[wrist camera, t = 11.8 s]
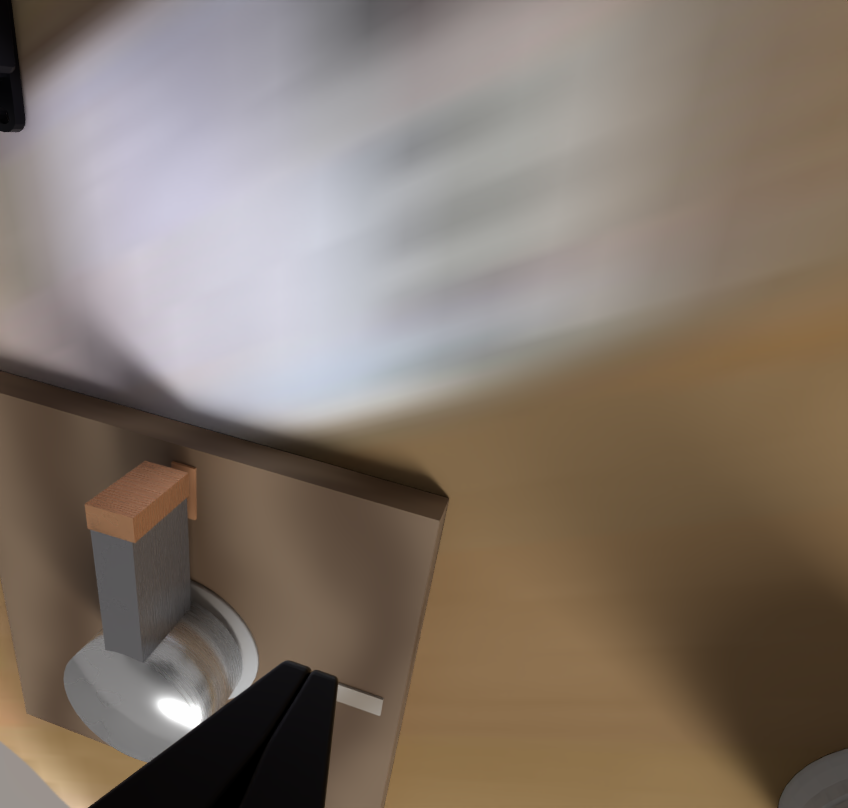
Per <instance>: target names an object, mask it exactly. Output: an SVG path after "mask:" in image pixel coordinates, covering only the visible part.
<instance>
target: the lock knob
mask: <svg viewBox="0 0 848 808" xmlns="http://www.w3.org/2000/svg"><path fill="white" fill-rule="evenodd" d="M188 496H189V476H188V473H187V472H184V471H180V470H177V469H173V468H169V467H166V466H162V465H159V464H155V463H152V462H148V461H144V462H143V463H141V464H140V465H138V466H137V467H136V468H134V469H133V470H131V471H130V472H129V473H127V474H126V475H124V476H123V477H122V478H120V479H119V480H117V481H116V482H115V483H113V484H112V485H110V486H109V487H108V488H106V489H105V490H104V491H102V492H101V493H99V494H98V495H97V496H95V497H94V498H92V499H91V500H90V501H88V502H87V503H85V511H86V519H87V527H88V529H90V531H91V539H92V547H93V555H94V563H95V571H96V579H97V587H98V595H99V603H100V611H101V619H102V627H103V628H102V629H101V630H100V631H99V632H98V633H97V634H96V635H95V636H94V637H93V638H92V639H91V640H90V641H89V642H88V643H87V644H86V645H85V646H84V647H83V648H82V649H81V650H80V651H79V652H78V653H77V654H76V655H75V656H74V657H73V658H72V659H71V660H70V661H69V662H68V664H67V666H66V668H65V671H64V687H65V691H66V694H67V697H68V699H69V701H70V703H71V705H72V707H73V709H74V710H75V712H76V713H77V715H78V716H79V717H80V719H81V720H82V721H83V722H84V723H85V724H86V726H87V727H88V728H89V729H90V730H91V731H92V732H94V733H95V734H96V735H97V736H98V737H99V738H101V739H102V740H103V741H104V742H106V743H107V744H109V745H110V746H112V747H113V748H115V749H117V750H118V751H120V752H122V753H124V754H126V755H128V756H130V757H133V758H135V759H138V760H141V761H145V762H150V761H151V760H152V759H154V758H155V757H156V756H158V755H159V754H160V753H162V752H163V751H164V750H166V749H167V748H168V747H170V746H171V745H172V744H174V743H175V742H176V741H178V740H179V739H180V738H182V737H183V736H184V735H186V734H187V733H188V732H190V731H191V730H192V729H194V728H195V727H196V726H198V725H199V724H200V723H202V722H203V721H204V720H206V719H207V718H208V717H210V716H211V715H212V714H214V713H215V712H216V711H218V710H219V709H220V708H222V707H223V706H224V705H225V703H226V702H227V700H228V699H229V697H230V696H231V694H232V693H233V691H234V690H235V688H236V687H237V685H238V683H239V681H240V680H241V676H242V671H243V663H242V657H241V653H240V650H239V648H238V645H237V643H236V642H235V640H234V638H233V636H232V635H231V633H230V632H229V631H228V629H227V628H226V627H225V626H224V625H223V624H222V623H221V622H220V620H219V619H218V618H216V617H215V616H214V615H213V614H212V613H211V612H209V611H208V610H206V609H205V608H204V607H202V606H201V605H199V604H197V603H196V602H194V601H191V589H190V563H189V537H188V512H187V497H188Z"/></svg>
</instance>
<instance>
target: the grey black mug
mask: <svg viewBox="0 0 848 808" xmlns="http://www.w3.org/2000/svg"><path fill="white" fill-rule="evenodd" d="M778 808H848V749H844V750H841V751H838V752H835V753H832V754H829V755H827V756H824V757H823V758H821V759H819V760H817V761H815V762H813V763H811V764H809V765H808V766H806V767H805V768H804V769H802V770H801V771H800V772H799V773H797V774H796V775H795V776H794V777H793V778H792V780H791V781H790V782H789V783H788V784H787V785H786V787H785V789H784V791H783V793H782V795H781V797H780V801H779V806H778Z"/></svg>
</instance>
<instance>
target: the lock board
mask: <svg viewBox="0 0 848 808" xmlns="http://www.w3.org/2000/svg"><path fill="white" fill-rule="evenodd" d="M144 461H148V462H152V463H155V464H159V465H162V466H166V467H169V468H173V469H177V470H180V471H184V472H187V473H188V476H189V496H188V497H187V512H188V537H189V563H190V589H191V601H194V602H196V603H197V604H199V605H201V606H202V607H204V608H205V609H206V610H208V611H209V612H211V613H212V614H213V615H214V616H215V617H216V618H218V619H219V620H220V622H221V623H222V624H223V625H224V626H225V627H226V628H227V629H228V631H229V632H230V633H231V635H232V636H233V638H234V640H235V642H236V643H237V645H238V648H239V650H240V653H241V657H242V663H243V671H242V676H241V680H240V681H239V683H238V685H237V687H236V688H235V690H234V691H233V693H232V694H231V696H230V697H229V699H228V700H227V702H226V703H225V705H226V704H227V703H228V702H230V701H231V700H232V699H234V698H235V697H236V696H238V695H239V694H240V693H242V692H243V691H244V690H246V689H247V688H248V687H250V686H251V685H252V684H254V683H255V682H256V681H258V680H259V679H260V678H262V677H263V676H264V675H266V674H267V673H268V672H270V671H271V670H272V669H274V668H275V667H276V666H278V665H279V664H280V663H282V662H284V661H287V660H290V661H294V662H297V663H299V664H302V665H305V666H308V667H310V668H311V671H313V670H320V671H323V672H326V673H329V674H331V675H334V676H336V677H337V678H338V681H339V682H338V692H337V701H336V710H335V719H334V728H333V737H332V746H331V755H330V765H329V774H328V783H327V792H326V801H325V808H384V805H385V800H386V795H387V790H388V786H389V781H390V776H391V771H392V767H393V762H394V757H395V753H396V748H397V743H398V738H399V734H400V729H401V724H402V719H403V715H404V710H405V705H406V700H407V696H408V691H409V686H410V682H411V677H412V672H413V667H414V663H415V658H416V653H417V648H418V644H419V639H420V634H421V629H422V625H423V620H424V615H425V610H426V606H427V601H428V596H429V592H430V587H431V582H432V577H433V573H434V568H435V563H436V558H437V554H438V549H439V544H440V539H441V535H442V530H443V525H444V520H445V516H446V511H447V506H448V502H449V498H446V497H443V496H439V495H436V494H432V493H429V492H425V491H422V490H418V489H415V488H411V487H408V486H404V485H401V484H397V483H394V482H390V481H386V480H383V479H379V478H376V477H372V476H369V475H365V474H362V473H358V472H355V471H351V470H348V469H344V468H341V467H337V466H334V465H330V464H327V463H323V462H320V461H316V460H313V459H309V458H306V457H302V456H298V455H295V454H291V453H288V452H284V451H281V450H277V449H274V448H270V447H267V446H263V445H260V444H256V443H253V442H249V441H246V440H242V439H239V438H235V437H232V436H228V435H225V434H221V433H218V432H214V431H210V430H207V429H203V428H200V427H196V426H193V425H189V424H186V423H182V422H179V421H175V420H172V419H168V418H165V417H161V416H158V415H154V414H151V413H147V412H144V411H140V410H137V409H133V408H130V407H126V406H122V405H119V404H115V403H112V402H108V401H105V400H101V399H98V398H94V397H91V396H87V395H84V394H80V393H77V392H73V391H70V390H66V389H63V388H59V387H56V386H52V385H49V384H45V383H42V382H38V381H34V380H31V379H27V378H24V377H20V376H17V375H13V374H10V373H6V372H3V371H0V578H1V583H2V588H3V593H4V598H5V603H6V609H7V614H8V619H9V624H10V629H11V635H12V640H13V645H14V650H15V655H16V661H17V666H18V671H19V676H20V681H21V686H22V692H23V697H24V702H25V707H26V712H27V714H30V715H32V716H35V717H37V718H40V719H42V720H45V721H47V722H50V723H53V724H55V725H58V726H60V727H63V728H65V729H68V730H70V731H73V732H76V733H78V734H81V735H83V736H86V737H88V738H91V739H93V740H96V741H99V742H101V743H104V744H106V745H109V744H107V743H106V742H104V741H103V740H102V739H101V738H99V737H98V736H97V735H96V734H95V733H94V732H92V731H91V730H90V729H89V728H88V727H87V726H86V724H85V723H84V722H83V721H82V720H81V719H80V717H79V716H78V715H77V713H76V712H75V710H74V709H73V707H72V705H71V703H70V701H69V699H68V697H67V694H66V691H65V687H64V671H65V668H66V666H67V664H68V662H69V661H70V660H71V659H72V658H73V657H74V656H75V655H76V654H77V653H78V652H79V651H80V650H81V649H82V648H83V647H84V646H85V645H86V644H87V643H88V642H89V641H90V640H91V639H92V638H93V637H94V636H95V635H96V634H97V633H98V632H99V631H100V630H101V629H102V628H103V627H102V619H101V611H100V603H99V595H98V587H97V579H96V571H95V563H94V555H93V547H92V539H91V531H90V529H88V527H87V519H86V511H85V503H87V502H88V501H90V500H91V499H92V498H94V497H95V496H97V495H98V494H99V493H101V492H102V491H104V490H105V489H106V488H108V487H109V486H110V485H112V484H113V483H115V482H116V481H117V480H119V479H120V478H122V477H123V476H124V475H126V474H127V473H129V472H130V471H131V470H133V469H134V468H136V467H137V466H138V465H140V464H141V463H143V462H144ZM109 746H110V745H109ZM111 747H112V746H111Z"/></svg>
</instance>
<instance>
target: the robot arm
mask: <svg viewBox="0 0 848 808" xmlns="http://www.w3.org/2000/svg"><path fill="white" fill-rule="evenodd" d="M7 112H8V115H9V120H8V119H7V115H6V113H7ZM24 126H25V113H24V104H23V96H22V88H21V79H20V71H19V62H18V54H17V45H16V37H15V29H14V20H13V12H12V3H11V0H0V131H2V132H20V131H21V130H23V128H24ZM338 682H339V681H338V678H337V677H336V676H334V675H331V674H329V673H326V672H323V671H320V670H313V671H311V668H310V667H308V666H305V665H302V664H299V663H297V662H294V661H290V660H287V661H284V662H282V663H280V664H279V665H278V666H276V667H275V668H274V669H272V670H271V671H270V672H268V673H267V674H266V675H264V676H263V677H262V678H260V679H259V680H258V681H256V682H255V683H254V684H252V685H251V686H250V687H248V688H247V689H246V690H244V691H243V692H242V693H240V694H239V695H238V696H236V697H235V698H234V699H232V700H231V701H230V702H228V703H227V704H226V705H224V706H223V707H222V708H220V709H219V710H218V711H216V712H215V713H214V714H212V715H211V716H210V717H208V718H207V719H206V720H204V721H203V722H202V723H200V724H199V725H198V726H196V727H195V728H194V729H192V730H191V731H190V732H188V733H187V734H186V735H184V736H183V737H182V738H180V739H179V740H178V741H176V742H175V743H174V744H172V745H171V746H170V747H168V748H167V749H166V750H164V751H163V752H162V753H160V754H159V755H158V756H156V757H155V758H154V759H152V760H151V761H150V762H148V763H147V764H146V765H144V766H143V767H142V768H140V769H139V770H138V771H136V772H135V773H134V774H132V775H131V776H130V777H128V778H127V779H126V780H124V781H123V782H122V783H120V784H119V785H118V786H116V787H115V788H114V789H112V790H111V791H110V792H108V793H107V794H106V795H104V796H103V797H102V798H100V799H99V800H98V801H96V802H95V803H94V804H92V805H91V806H90V807H88V808H325V801H326V792H327V783H328V774H329V765H330V755H331V746H332V737H333V728H334V719H335V710H336V701H337V692H338Z"/></svg>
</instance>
